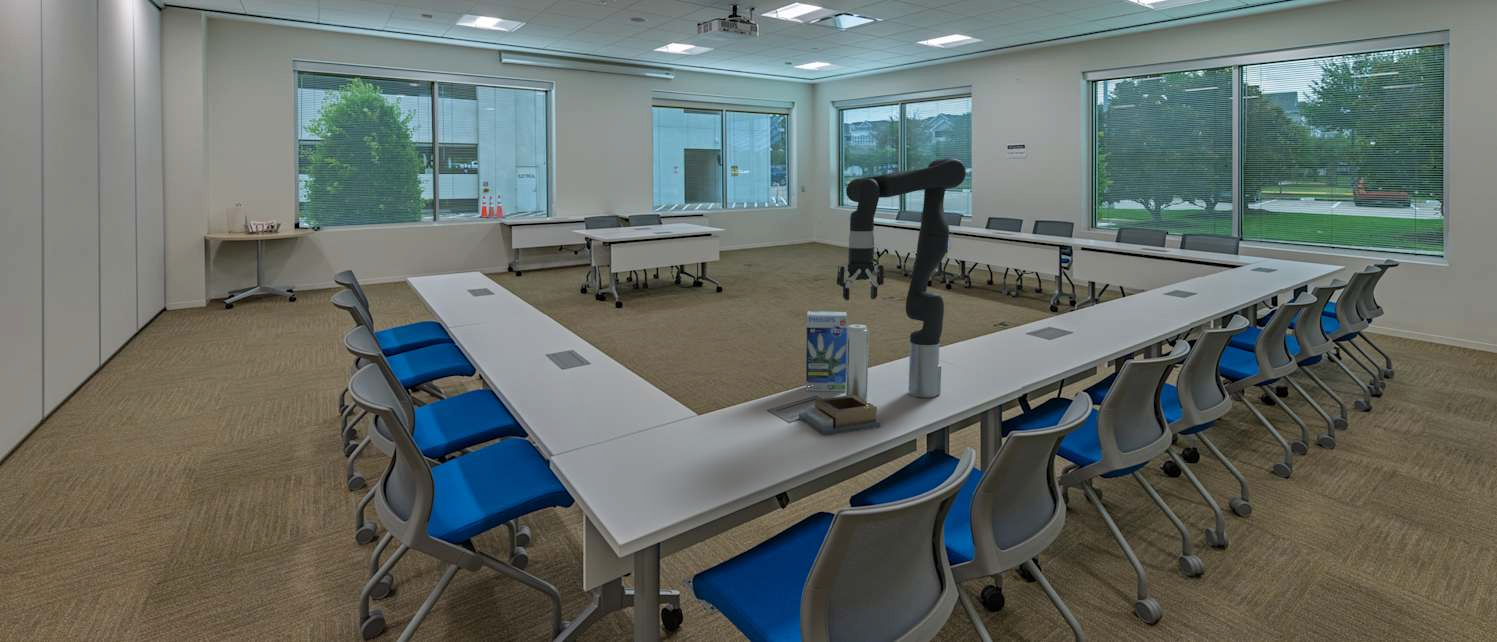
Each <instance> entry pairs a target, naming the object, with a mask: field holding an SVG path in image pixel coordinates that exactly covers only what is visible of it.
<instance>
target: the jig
mask: <svg viewBox="0 0 1497 642" xmlns="http://www.w3.org/2000/svg"><path fill="white" fill-rule="evenodd" d="M877 410H878V409H877V406H876V405H874V404H872V403H870V402H868V400H867V401H865V400H863V399H861V398H859V397H858V396H856V395H848V396H846V395H841V396H835V397H834V396H833V397H826V398H819V399H818V398H817V399H815V400H814V406H812V407H805V408H804V412H799V414H798V419H800V420H801V421H802V422H804V423H805V424H807V425H808V426H809V427H811V428H812V429H813V430H815V431H816V432H818V433H819V434H821V435H822V436H828V435H835V434H836V435H837V434H843V433H849V431H850V432H855V430H856V431H861V430H862V429H863V430H868V429H867V428H870V429H874V428H873V427H876V428H881V427H882V425H881V421H880V420H878V419H877ZM880 426H881V427H880ZM863 430H862V431H863Z"/></svg>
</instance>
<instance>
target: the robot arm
mask: <svg viewBox="0 0 1497 642" xmlns="http://www.w3.org/2000/svg"><path fill="white" fill-rule="evenodd" d="M966 174H967V173H966V168H965V165H964V163H963V162H962V161H961V160H959V159H956V158H953V157H952V158H950V157H949V158H942V159H935V160H932V161H931V162H930V163H929V164H928V166H927V167H925V168H918V169H908V170H898V171H894V172H889V173H884V174H880V175H876V176H875V175H874V176H866V177H858V178H854V179H851V180H850V181H849V183H848V184H847V186H846V189H845V193H846V196H847V198H848V199H849V200H850V201H852V202H854V203H857V207H856V210H854V211H852V212H851V213H850V216H849V236H848V259H847V260H848V262H847V263H848V264H847V266H844V265H838V266H837V275H836V284H837V285H836V286H840V287H842V298H843V299H844V300H845V301H849V300H850V288H849V287H850V286H851V285H852V283H854V281H862V280H863V281H868V282H869V284H870V285H871V286H870V299H871V300H876V298H877V297H878V287H879V286H882V285H884V283H885V281H884V280H885V279H884V278H885V277H884V275H885V274H884V265H882V264H876V265H874V258H875V257H874V255H875V234H874V226H875V219H874V218H875V214H876V212H877V208H878V204H879V200H880V198H891V197H896V196H900V195H906V194H910V193H914V192H917V191H922V190H924V193H923V205H922V206H923V207H922V211H921V212H922V213H921V214H922V215H921V222H920V226H919V228H920V229H919V232H918V239H917V245H916V254H915V259H914V260H915V261H914V267H913V271H912V276H911V280H910V284H909V288H908V291H907V294H906V295H907V296H906V300H905V313H906V316H907V317H908V318H909V319H911V320H913V321H914V320H915V321H920V322H922V328H921V329H920V330H914V331H912V332H911V333H910V336H909V363H908V365H909V366H908V367H909V369H908V394H909V395H910V396H912V397H917V398H924V399H926V398H934V397H937V396H939V395H941V390H942V389H941V385H942V365H940V342H941V336H942V332H943V324H944V313H945V305H944V299H943V297H942V296H941V295H940V294H938V293H934V292H927V290H928V284H929V281H930V278H931V276H932V275H933V272H934V271H935V270H936V269H937V267H938V266H939V264H941V262H942V260H943V259H944V258H945V256H946V254H947V250H948V245H949V238H950V227H949V223H948V220H947V216H946V214H945V208H944V200H945V194H946V190H948V189H953V188H957V187H959V186H960V185H961V184H962V183H964V181H965V178H966ZM847 272H848V275H847V276H846V278H845V274H846V273H847ZM873 272H875V273H876V278H875V277H874V275H873Z"/></svg>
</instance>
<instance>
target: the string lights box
mask: <svg viewBox="0 0 1497 642" xmlns="http://www.w3.org/2000/svg"><path fill="white" fill-rule="evenodd" d="M806 312H807V313H806V349H805V350H806V352H805V353H806V361H805V362H806V363H805V364H806V365H805V366H806V369H805V371H806V374H805V375H806V376H805V377H806V378H805V381H806V384H805V385H806V387H807V388H805V389H808V390H806V392H829V391H830V392H832V393H833V392H835V393H836V392H837V393H838V392H839V393H846V369H847V328H848V314H847V312H846V311H827V310H826V311H824V310H823V311H809V310H808V311H806ZM812 385H813V386H812ZM808 386H810V387H808ZM830 392H829V393H830Z"/></svg>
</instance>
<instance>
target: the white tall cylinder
mask: <svg viewBox="0 0 1497 642" xmlns="http://www.w3.org/2000/svg"><path fill="white" fill-rule="evenodd" d="M868 363H869V329H868V328H867V325H864V324H858V323H857V324H848V325H847V360H846V392H845V396H848V395H856V396H858V397H859V398H861V399H863V400H865V401H867V402H868V377H869V374H868V371H869V364H868Z"/></svg>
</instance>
